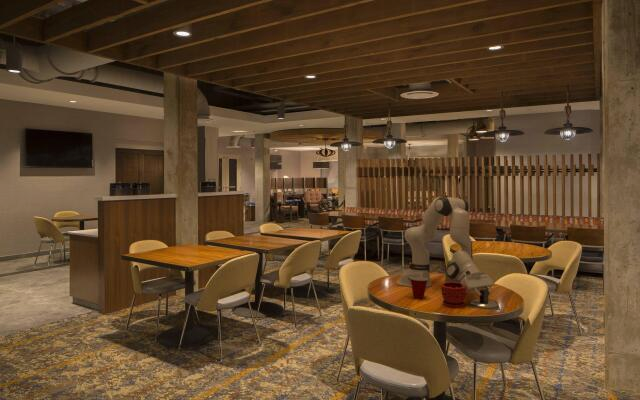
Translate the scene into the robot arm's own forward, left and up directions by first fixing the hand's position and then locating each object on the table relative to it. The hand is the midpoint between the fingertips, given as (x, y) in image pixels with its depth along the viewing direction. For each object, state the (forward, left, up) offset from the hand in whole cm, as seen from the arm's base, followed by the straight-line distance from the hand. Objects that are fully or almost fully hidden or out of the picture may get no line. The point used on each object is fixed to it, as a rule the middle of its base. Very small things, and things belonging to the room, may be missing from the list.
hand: (484, 295), depth 252 cm
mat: (0, 0, -6) cm, 6 cm away
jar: (-13, +39, -6) cm, 42 cm away
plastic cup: (-36, +7, -6) cm, 38 cm away
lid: (0, 0, -6) cm, 6 cm away
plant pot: (-17, -4, -6) cm, 18 cm away
